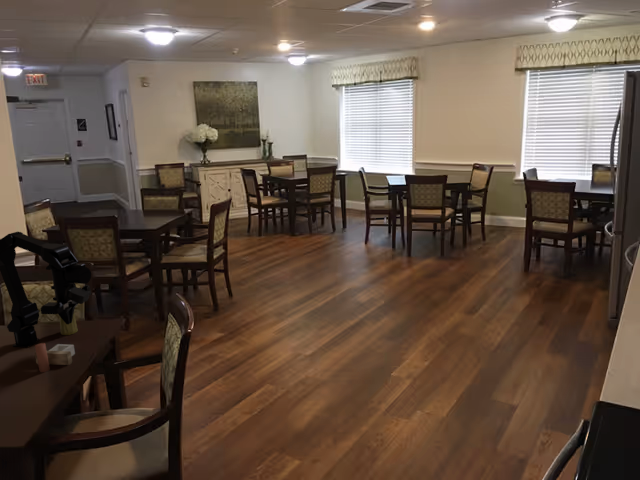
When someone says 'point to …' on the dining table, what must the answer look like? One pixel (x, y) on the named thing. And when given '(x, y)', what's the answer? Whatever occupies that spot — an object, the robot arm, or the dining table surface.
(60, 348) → the socket block
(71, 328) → the olive ribbed cylinder
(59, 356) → the backstop
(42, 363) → the peg
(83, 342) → the dining table surface
